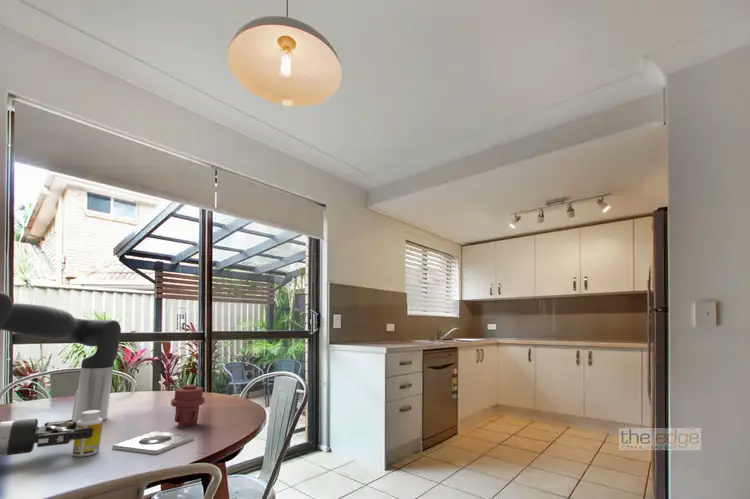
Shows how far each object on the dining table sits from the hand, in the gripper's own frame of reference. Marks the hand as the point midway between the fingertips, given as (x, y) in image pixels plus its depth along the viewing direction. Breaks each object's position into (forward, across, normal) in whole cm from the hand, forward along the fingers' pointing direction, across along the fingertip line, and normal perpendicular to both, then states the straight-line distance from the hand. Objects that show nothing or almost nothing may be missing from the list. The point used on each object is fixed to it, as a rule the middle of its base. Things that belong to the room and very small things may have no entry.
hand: (92, 428), depth 103 cm
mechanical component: (+25, +17, +6) cm, 31 cm away
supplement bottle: (-1, 0, +6) cm, 6 cm away
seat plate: (+15, 0, +6) cm, 16 cm away
